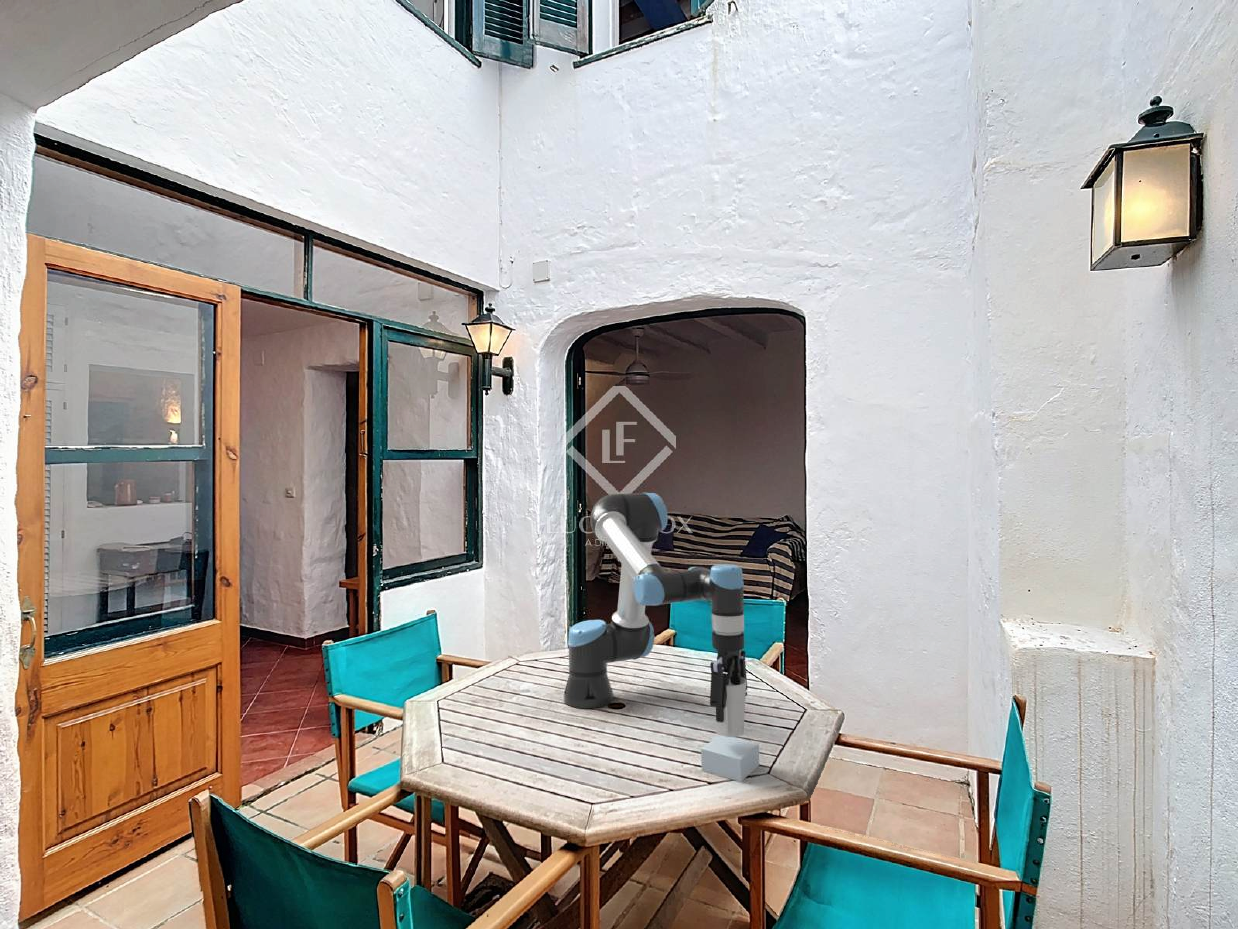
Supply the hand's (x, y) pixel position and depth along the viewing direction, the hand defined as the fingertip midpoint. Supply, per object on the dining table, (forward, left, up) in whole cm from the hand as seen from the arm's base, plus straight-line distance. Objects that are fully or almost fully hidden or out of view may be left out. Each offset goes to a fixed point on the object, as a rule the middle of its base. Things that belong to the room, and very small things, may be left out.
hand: (730, 728), depth 150 cm
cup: (0, 0, -1) cm, 1 cm away
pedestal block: (0, 0, -9) cm, 9 cm away
